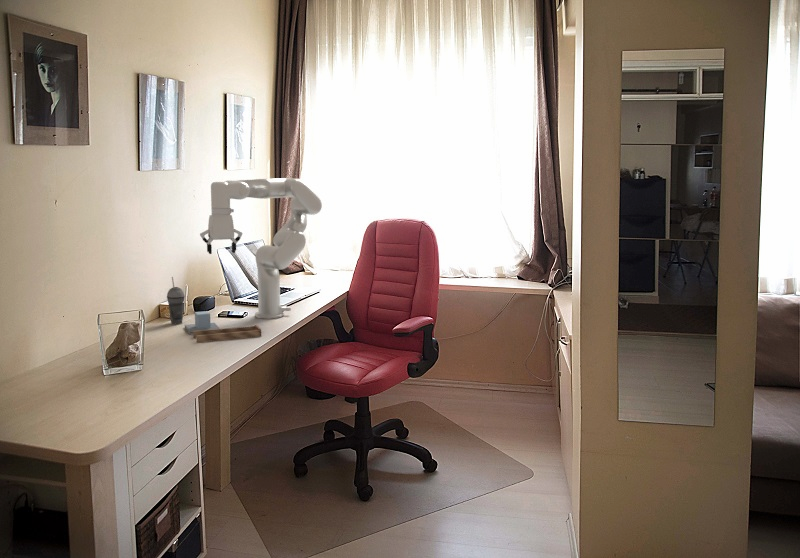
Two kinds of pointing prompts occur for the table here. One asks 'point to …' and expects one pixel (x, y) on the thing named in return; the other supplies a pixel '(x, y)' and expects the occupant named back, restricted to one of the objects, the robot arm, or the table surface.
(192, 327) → the pad
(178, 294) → the beverage cup
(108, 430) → the table surface
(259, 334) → the channel
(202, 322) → the block
